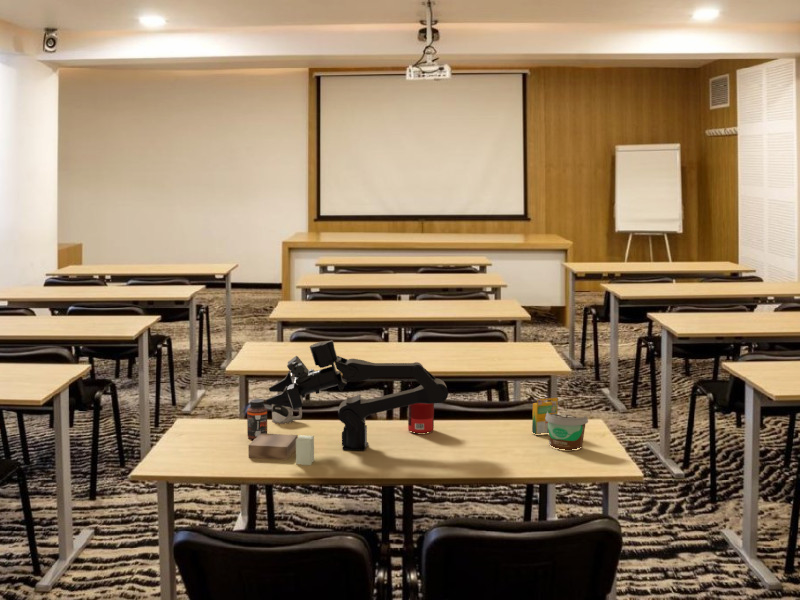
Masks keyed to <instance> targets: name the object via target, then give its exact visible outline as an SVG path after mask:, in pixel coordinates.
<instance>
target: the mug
mask: <svg viewBox="0 0 800 600" xmlns="http://www.w3.org/2000/svg"><path fill="white" fill-rule="evenodd" d="M293 412H294V409H293V408H291V407H286V406H280V405H273V404H271V418H272V419H271V422H272V423H273V424H277V423H279V425H285V423H286V424H290V423H292V422H294V421H296V420H301V419H302V417H303V410H302V407H301V408H299V409H298V415H297V416H295V415H294V413H293Z"/></svg>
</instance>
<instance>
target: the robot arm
mask: <svg viewBox="0 0 800 600" xmlns="http://www.w3.org/2000/svg"><path fill="white" fill-rule="evenodd" d="M309 349H310V353H311V356H312V358H313V362H314V364H315V366H318V368H320V369H318V370H315V369H313V368H311V369H308V367H307V366H306V364H305V363H304V362H303V361H302V360H301V358H300V357H299V356H298V355H295V356H294V357H293V358H291V359H290V360H288V361H287V365H286V367H287V369H288V371H287V374H286V376H285V377H284V378H283V379H281V380H280V381H278V382H276V383H275V384H272V385H271V386H270V387H268V390H269V392H273V393H276V392H277V393H278V392H280V393H278V394H276V395H273V396H271V397H268V398H267V399H265V402H266V404H268V405H272V404H273V405H280V406H286V407H291V408H293V411H294V410H299V408H302V407H303V404H304V399H305V398H306V397H307V395H310V394H313V393H315V394H316V395H318V394H320V393H321V392H320V391H322V390H323V391H324V390H327V389H329V388H333V387H336V386H338V390H339V392H343V390H344V388H345V387H346V386H347V383H348V382H349V383H357V382H363V381H367V380H370V379H375V378H376V379H380V378H381V379H383V378H384V379H387V378H390V379H391V378H393V379H394V378H395V379H397V378H400V379H402V378H404V379H405V378H406V379H409V378H410V379H411V378H412V379H415V380H416V381H417V382H418V383H419V384H420V385H418V386H417V387H414V388H410V389H407V390H403V391H399V392H394V393H390V394H387V395H381V396H378V397H374V398H368V399H365V398H361V394H357V395H354V396H353V397H346V399H345V400H343V401H342V402H340V404H339V406H338V411H337V417H338V420H339V421H340V422H341V423H342V424H344V427H343V430H342V432H341V447H342V448H341V449H342V450H344V451H366V449H367V447H368V445H369V442H368V439H367V438H368V436H367V435H368V430H367V429H368V425H366V418H367V417H368V416H371V415H374V414H377V413H381V412H387V411H390V410H394V409H399V408H403V407H407V406H408V405H412V404H416V403H425V404H434V405H435V404H441V403H444V402H446V400H447V398H448V396H449V390H448V387H447V385H446V383H445V382H444V380H443V379H440V378H436V377H435V376H434V375H433V374H432V373H431V372H429V371H428V370H427V369H426V368H425V367H424V366H423V364H422V363H420V362H418V361H415V362H372V361H368V360H363V359H358V358H348V359H347V358H344V357H341V356H339V355H337V352H336V349H335V342H334V340H332V339H331V340H324V341H317V342H316V343H313V344H311V345H309Z"/></svg>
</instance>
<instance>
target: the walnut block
mask: <svg viewBox="0 0 800 600" xmlns="http://www.w3.org/2000/svg"><path fill="white" fill-rule="evenodd" d="M298 437H299V435H298V434H278V433H267V434H263V433H261V434H260V435H259V436H258V437H256V438H255V439H252V441H251V442H250V443H249V444H248V445H247V447H248V458H250V459H263V460H264V459H268V460H284V461H285V460H286V461H287V460H289V458H290V457H291V456H292V455H293V454H294V453H295V452H296V439H297V438H298Z"/></svg>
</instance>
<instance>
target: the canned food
mask: <svg viewBox="0 0 800 600" xmlns="http://www.w3.org/2000/svg"><path fill="white" fill-rule="evenodd" d="M407 412H408V413H407V417H408V418H407V427H408V428H407V429H408V432H409V431H412V432H415V433H427V432H431V431H434V428H435V427H434V421H435V420H434V419H435V417H434V416H435V404H425V403H416V404H412V405H408V409H407ZM431 433H432V432H431Z"/></svg>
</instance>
